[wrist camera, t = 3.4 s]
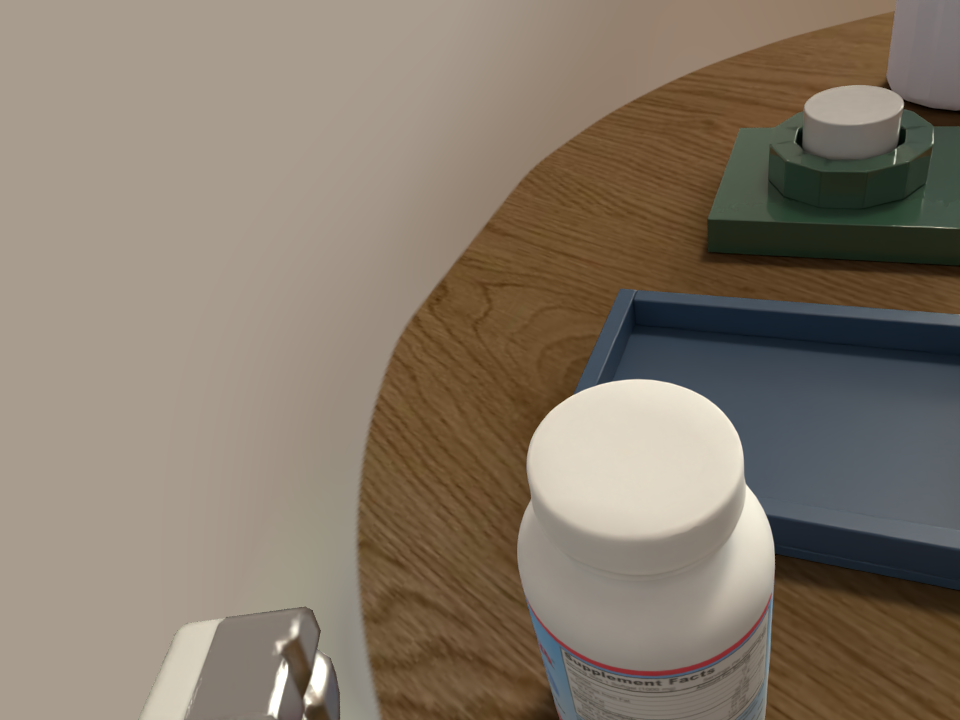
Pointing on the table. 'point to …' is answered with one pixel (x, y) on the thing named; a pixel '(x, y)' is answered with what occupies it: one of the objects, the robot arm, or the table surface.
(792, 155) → the button base
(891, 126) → the white short cylinder
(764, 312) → the dish
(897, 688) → the table surface
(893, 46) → the soap bottle
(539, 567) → the pill bottle
